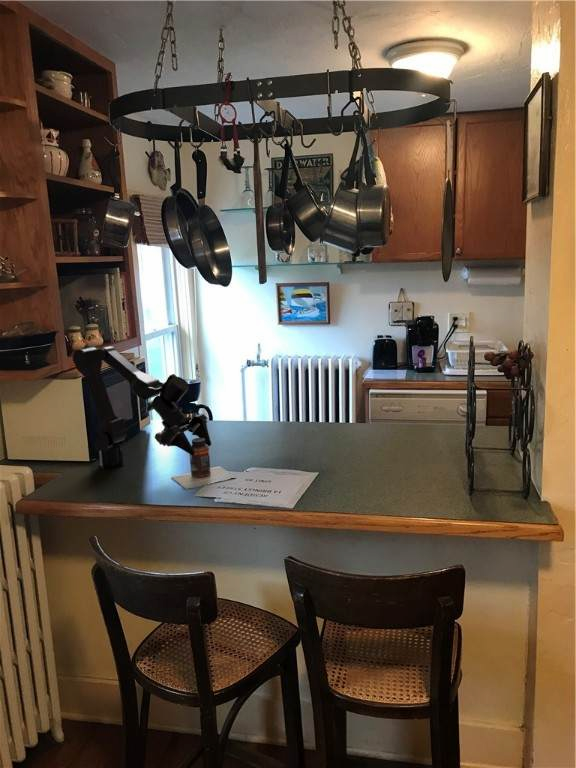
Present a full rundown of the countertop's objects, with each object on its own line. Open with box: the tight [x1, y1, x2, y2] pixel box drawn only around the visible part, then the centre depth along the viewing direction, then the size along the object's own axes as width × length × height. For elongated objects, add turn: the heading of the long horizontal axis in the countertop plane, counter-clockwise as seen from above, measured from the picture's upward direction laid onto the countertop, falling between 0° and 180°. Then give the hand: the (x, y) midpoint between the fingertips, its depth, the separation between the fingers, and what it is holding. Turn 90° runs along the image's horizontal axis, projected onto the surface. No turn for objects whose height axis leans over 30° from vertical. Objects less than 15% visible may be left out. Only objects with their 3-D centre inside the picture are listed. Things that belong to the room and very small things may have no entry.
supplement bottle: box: [189, 437, 211, 478], centre depth 187 cm, size 6×6×11 cm
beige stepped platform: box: [171, 465, 230, 490], centre depth 187 cm, size 16×12×1 cm
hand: (202, 449), depth 186 cm, fingers open, 9 cm apart
